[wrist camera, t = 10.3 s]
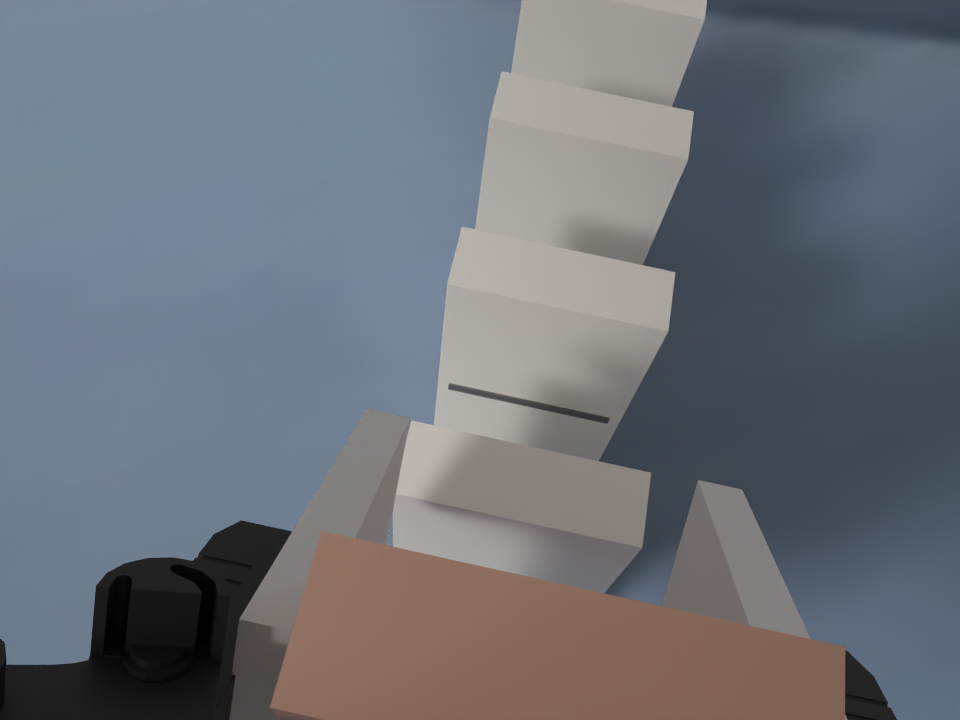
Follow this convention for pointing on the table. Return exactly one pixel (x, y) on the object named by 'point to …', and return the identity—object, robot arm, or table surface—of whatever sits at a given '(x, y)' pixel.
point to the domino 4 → (518, 508)
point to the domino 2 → (580, 167)
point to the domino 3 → (546, 342)
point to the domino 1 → (609, 44)
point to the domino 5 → (527, 650)
